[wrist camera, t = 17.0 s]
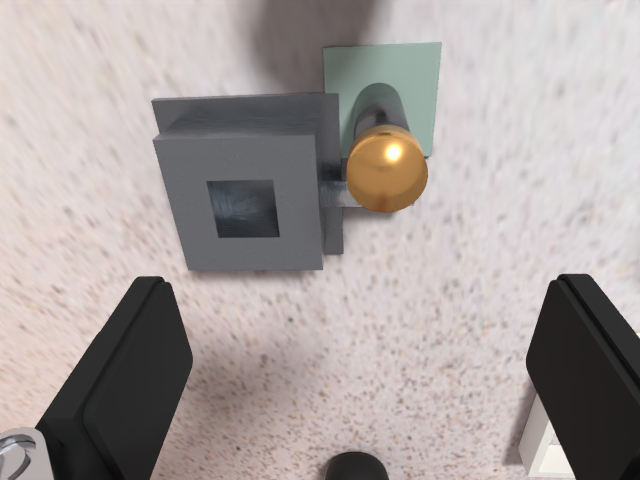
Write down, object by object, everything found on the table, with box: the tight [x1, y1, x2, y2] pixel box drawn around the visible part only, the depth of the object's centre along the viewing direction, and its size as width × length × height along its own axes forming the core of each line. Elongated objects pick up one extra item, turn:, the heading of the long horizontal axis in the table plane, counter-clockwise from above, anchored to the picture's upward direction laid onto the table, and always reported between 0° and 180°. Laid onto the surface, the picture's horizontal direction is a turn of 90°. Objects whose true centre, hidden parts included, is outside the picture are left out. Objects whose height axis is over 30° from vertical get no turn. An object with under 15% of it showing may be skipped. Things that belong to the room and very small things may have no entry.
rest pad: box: [323, 42, 442, 158], centre depth 31 cm, size 8×8×1 cm
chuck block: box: [151, 92, 414, 270], centre depth 33 cm, size 20×14×5 cm
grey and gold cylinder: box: [346, 83, 428, 213], centre depth 26 cm, size 4×4×12 cm
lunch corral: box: [518, 333, 640, 478], centre depth 45 cm, size 20×20×4 cm
